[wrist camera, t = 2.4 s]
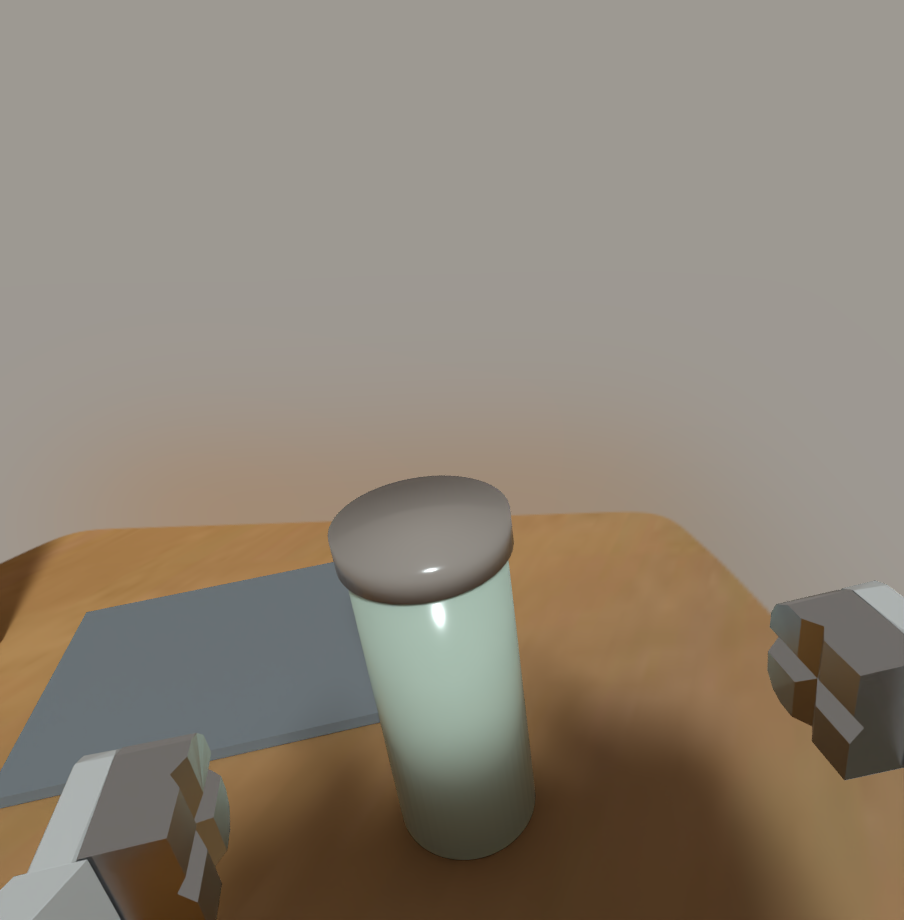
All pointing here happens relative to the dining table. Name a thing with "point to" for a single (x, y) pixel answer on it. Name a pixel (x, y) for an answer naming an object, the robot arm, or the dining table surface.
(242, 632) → the cutting board
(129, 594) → the dining table surface
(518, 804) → the ceramic jar
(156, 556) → the dining table surface
